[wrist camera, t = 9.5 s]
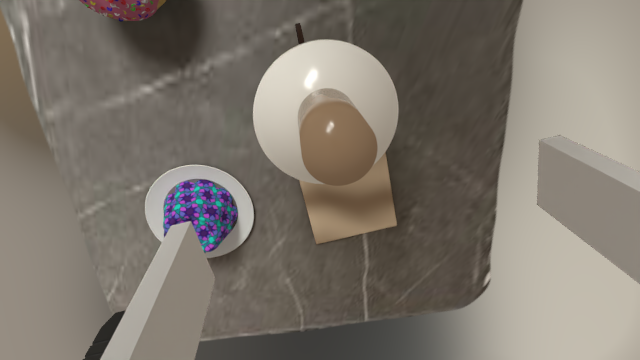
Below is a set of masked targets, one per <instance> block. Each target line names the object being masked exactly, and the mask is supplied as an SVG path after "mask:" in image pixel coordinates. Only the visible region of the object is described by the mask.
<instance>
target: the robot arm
mask: <svg viewBox="0 0 640 360" xmlns="http://www.w3.org/2000/svg"><path fill="white" fill-rule="evenodd" d="M537 195H538V196H537V205H538V206H540V207H541V208H542V209H543V210H545V211H546V212H547V213H549V214H550V215H551V216H553V217H554V218H555V219H556V220H558V221H559V222H560V223H562V224H563V225H564V226H565V227H567V228H568V229H569V230H571V231H572V232H573V233H574V234H576V235H577V236H578V237H580V238H581V239H582V240H584V241H585V242H586V243H587V244H589V245H590V246H591V247H593V248H594V249H595V250H596V251H598V252H599V253H600V254H602V255H603V256H604V257H605V258H607V259H608V260H609V261H611V262H612V263H613V264H614V265H616V266H617V267H618V268H620V269H621V270H622V271H624V272H625V273H626V274H627V275H629V276H630V277H631V278H633V279H634V280H635V281H637V282H638V283H639V284H640V172H639V171H637V170H635V169H632V168H630V167H628V166H626V165H624V164H622V163H619V162H617V161H615V160H613V159H611V158H608V157H606V156H604V155H602V154H600V153H598V152H595V151H593V150H591V149H589V148H586V147H585V146H582V145H580V144H578V143H576V142H574V141H571V140H569V139H567V138H565V137H562V136H560V135H559V136H554V137H550V138H546V139H541V140H539V165H538V194H537ZM214 282H215V277H214V275H213V272H212V270H211V267H210V265H209V263H208V260H207V258H206V256H205V253H204V251H203V248H202V246H201V244H200V241H199V239H198V237H197V234H196V232H195V229H194V227H193V225H192V222H191V221H189V222H184V223H180V224H176V225H172V226H170V228H169V230H168V232H167V234H166V236H165V238H164V240H163V242H162V243H161V245H160V247H159V249H158V251H157V253H156V255H155V257H154V259H153V260H152V262H151V264H150V266H149V268H148V270H147V272H146V274H145V276H144V277H143V279H142V281H141V283H140V285H139V287H138V289H137V291H136V293H135V295H134V296H133V298H132V300H131V302H130V304H129V306H128V308H127V310H126V311H122V312H117V313H115V314H114V315H113V316H112V317H111V318H110V319H109V320H108V321H107V322H106V323H105V324H104V325H103V326H102V328H101V329H100V331H99V333H98V334H97V336H96V338H95V340H94V341H93V345H92V346H90V348H89V350H88V351H87V353H86V355H85V359H83V360H194V359H195V355H196V351H197V347H198V344H199V340H200V336H201V332H202V328H203V324H204V320H205V317H206V313H207V309H208V305H209V301H210V297H211V293H212V290H213V286H214Z"/></svg>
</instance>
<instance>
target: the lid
mask: <svg viewBox="0 0 640 360" xmlns="http://www.w3.org/2000/svg"><path fill="white" fill-rule="evenodd" d="M398 111H399V109H398V99H397V94H396V90H395V87H394V84H393V82H392V80H391V78H390V76H389V74H388V73H387V71H386V70H385V68H384V67H383V66H382V65H381V63H380V62H379V61H378V60H377V59H376V58H374V57H373V56H372V55H371V54H369V53H368V52H366V51H365V50H363V49H361V48H359V47H357V46H355V45H353V44H350V43H348V42H344V41H340V40H332V39H319V40H313V41H308V42H305V43H302V44H299V45H297V46H295V47H293V48H291V49H289V50H288V51H286V52H285V53H283V54H282V55H281V56H279V57H278V58H277V59H276V60H275V61H274V62H273V63H272V64H271V66H270V67H269V68H268V69H267V71H266V72H265V74H264V76H263V78H262V80H261V82H260V84H259V86H258V89H257V92H256V96H255V100H254V106H253V122H254V128H255V133H256V136H257V139H258V141H259V144H260V146H261V147H262V149H263V151H264V153H265V154H266V155H267V157H268V158H269V159H270V160H271V161H272V162H273V164H274V165H275V166H277V167H278V168H279V169H280V170H282V171H283V172H285V173H286V174H288V175H289V176H292V177H294V178H296V179H298V180H301V181H305V182H309V183H314V184H327V185H332V186H343V185H348V184H351V183H354V182H356V181H358V180H359V179H361V178H362V177H364V176H365V175H366V174H367V173H368V172H369V170H370V169H371V168H372V166H373V165H374V164H375V163H376V162H377V161H378V160H379V159H380V158H381V157H382V155H383V154H384V153H385V152H386V150H387V148H388V147H389V145H390V143H391V141H392V139H393V137H394V134H395V131H396V127H397V122H398Z"/></svg>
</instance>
